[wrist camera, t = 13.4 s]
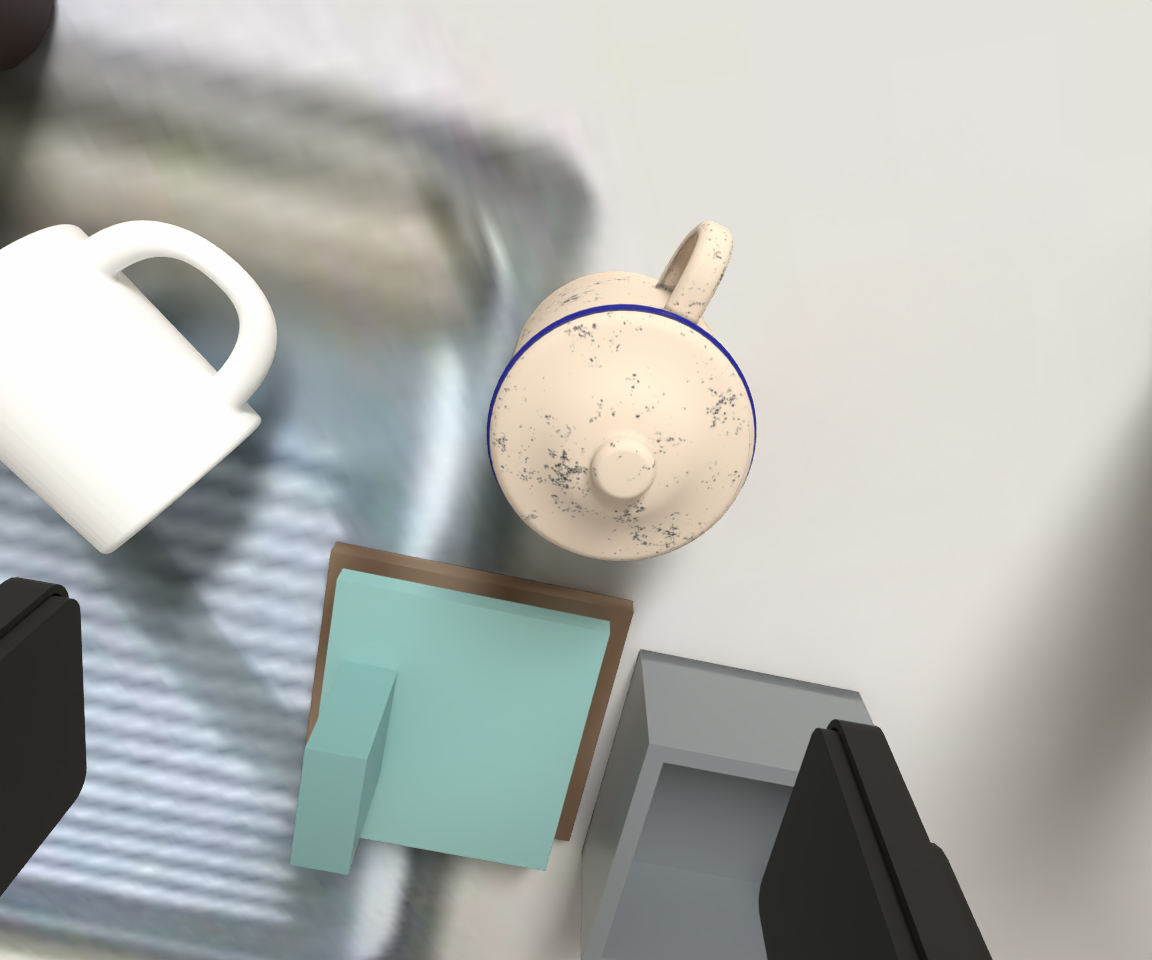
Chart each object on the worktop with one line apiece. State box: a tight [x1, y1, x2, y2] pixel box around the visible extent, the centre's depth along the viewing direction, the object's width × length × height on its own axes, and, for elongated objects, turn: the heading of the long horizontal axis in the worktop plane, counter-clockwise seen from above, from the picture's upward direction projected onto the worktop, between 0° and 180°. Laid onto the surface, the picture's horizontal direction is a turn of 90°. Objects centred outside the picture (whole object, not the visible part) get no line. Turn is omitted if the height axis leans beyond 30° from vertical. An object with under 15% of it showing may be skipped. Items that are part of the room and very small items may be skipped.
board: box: [306, 542, 634, 841], centre depth 44 cm, size 14×14×1 cm
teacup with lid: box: [487, 221, 756, 561], centre depth 32 cm, size 12×9×12 cm
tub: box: [581, 649, 874, 960], centre depth 43 cm, size 11×13×7 cm
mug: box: [0, 221, 277, 554], centre depth 34 cm, size 12×10×8 cm
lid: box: [290, 568, 610, 875], centre depth 40 cm, size 12×14×8 cm
